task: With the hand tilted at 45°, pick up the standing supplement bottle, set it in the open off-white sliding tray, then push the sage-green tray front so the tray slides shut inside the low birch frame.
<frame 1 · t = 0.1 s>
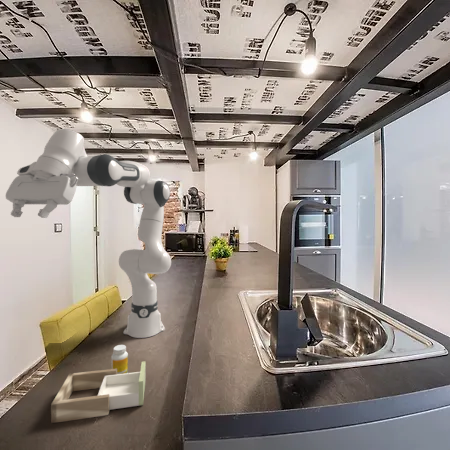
hand: (28, 216, 70), 54 cm above the counter, tool tilted 30°, fingers open, 8 cm apart
tray: (123, 384, 80), point 4 cm above the counter, slide at 9.0 cm
supplement bottle: (119, 375, 91), on the counter
tray frame: (87, 401, 78), on the counter
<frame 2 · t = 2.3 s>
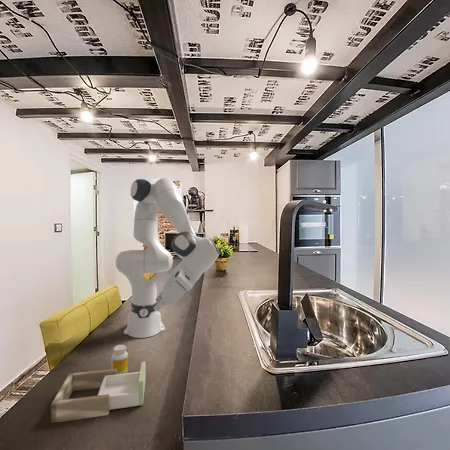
hand: (156, 305, 93), 24 cm above the counter, tool tilted 45°, fingers open, 8 cm apart
nothing on the counter moved.
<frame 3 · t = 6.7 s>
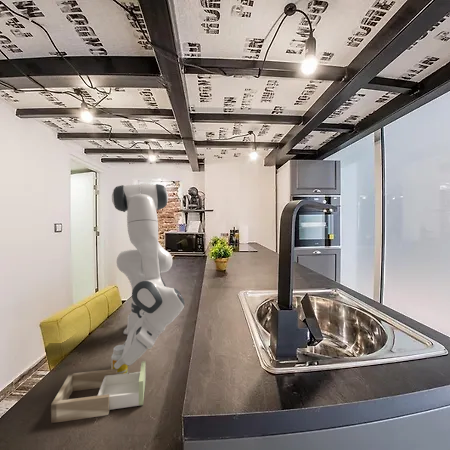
hand: (117, 359, 91), 6 cm above the counter, tool tilted 45°, fingers open, 8 cm apart
nothing on the counter moved.
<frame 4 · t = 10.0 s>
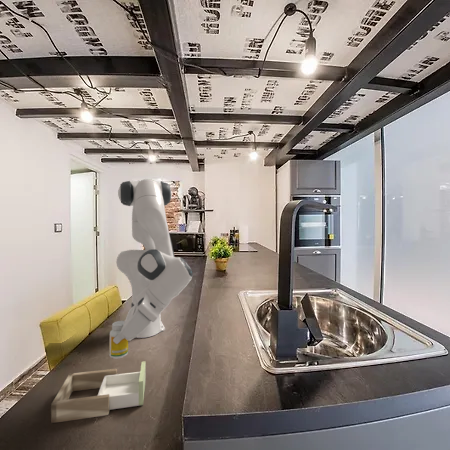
hand: (117, 336, 80), 18 cm above the counter, tool tilted 45°, fingers closed on supplement bottle, 5 cm apart
supplement bottle: (118, 355, 80), point 13 cm above the counter, touching gripper
everything else where it was.
when the fingers open (8 cm above the counter, at t = 12.9 s): supplement bottle stays where it is, resting on tray.
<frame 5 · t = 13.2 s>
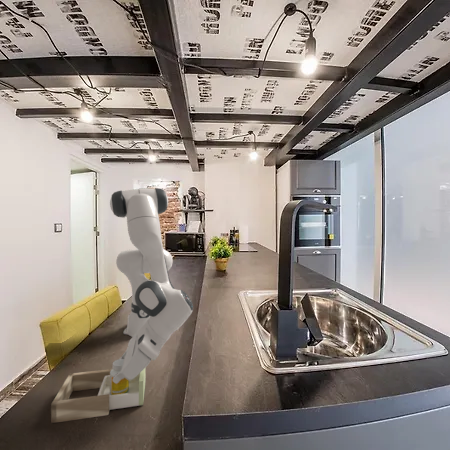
hand: (117, 371, 79), 8 cm above the counter, tool tilted 45°, fingers open, 8 cm apart
tray: (123, 384, 80), point 4 cm above the counter, slide at 9.0 cm, touching supplement bottle
supplement bottle: (119, 393, 80), point 1 cm above the counter, touching tray
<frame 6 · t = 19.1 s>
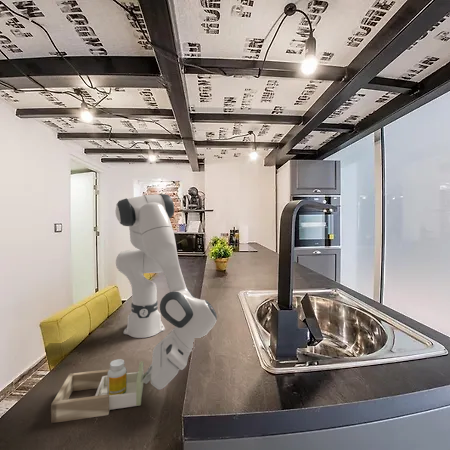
hand: (144, 380, 81), 4 cm above the counter, tool tilted 45°, fingers closed, pressing on tray
tray: (120, 384, 80), point 4 cm above the counter, slide at 8.3 cm, touching supplement bottle, gripper
everything else where it was.
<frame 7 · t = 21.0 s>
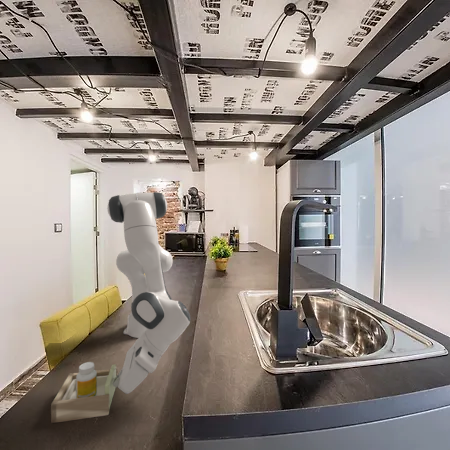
hand: (115, 383, 79), 4 cm above the counter, tool tilted 45°, fingers closed, pressing on tray
tray: (90, 388, 78), point 4 cm above the counter, slide at -0.1 cm, touching supplement bottle, gripper
supplement bottle: (86, 398, 78), point 1 cm above the counter, touching tray
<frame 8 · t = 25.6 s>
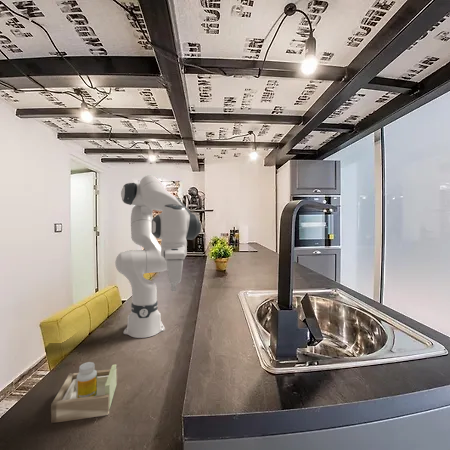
hand: (173, 290, 92), 29 cm above the counter, tool pointing down, fingers closed
tray: (90, 388, 78), point 4 cm above the counter, slide at 0.0 cm, touching supplement bottle
everything else where it was.
at the end: tray slide at 0.0 cm; supplement bottle inside the target area on the tray frame (0.3 cm from its centre), point 0.9 cm above the tray frame's base; supplement bottle tilted 0° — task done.
